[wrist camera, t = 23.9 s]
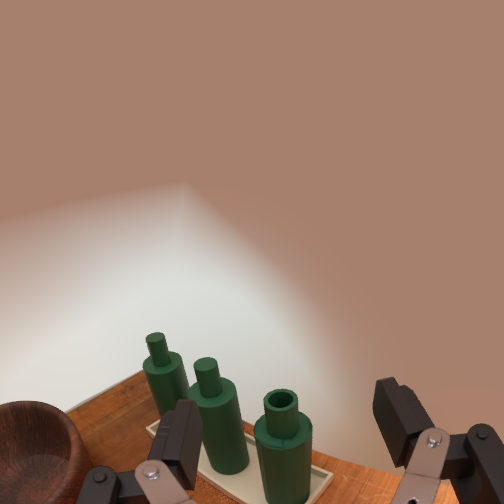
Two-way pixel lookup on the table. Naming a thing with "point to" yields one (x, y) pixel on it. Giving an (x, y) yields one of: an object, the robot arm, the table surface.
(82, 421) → the table surface
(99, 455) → the table surface
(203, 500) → the table surface
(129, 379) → the table surface
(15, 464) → the wooden bowl
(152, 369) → the row bottle
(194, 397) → the row bottle
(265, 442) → the bottle
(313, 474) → the tray
